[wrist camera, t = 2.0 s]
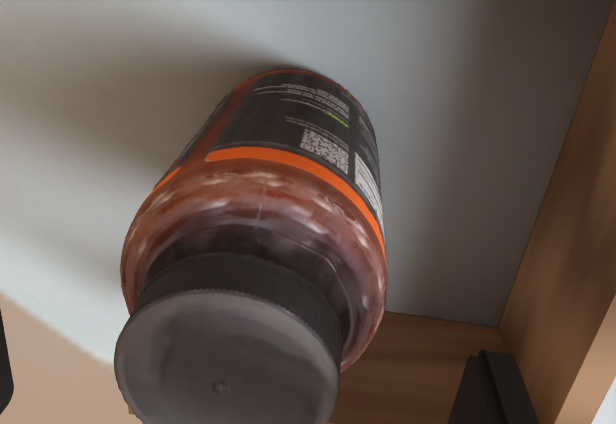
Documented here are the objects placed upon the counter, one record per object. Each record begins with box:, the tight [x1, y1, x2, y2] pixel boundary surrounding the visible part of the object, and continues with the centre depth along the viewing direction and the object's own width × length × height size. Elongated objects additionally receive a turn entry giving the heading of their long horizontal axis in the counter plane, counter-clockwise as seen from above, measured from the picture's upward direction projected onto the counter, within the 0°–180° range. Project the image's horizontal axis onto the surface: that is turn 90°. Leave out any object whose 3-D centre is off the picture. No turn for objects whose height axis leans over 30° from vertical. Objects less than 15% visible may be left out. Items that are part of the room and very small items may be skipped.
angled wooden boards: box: [128, 0, 616, 424], centre depth 16 cm, size 15×14×6 cm
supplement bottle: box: [114, 69, 387, 424], centre depth 14 cm, size 6×6×11 cm
